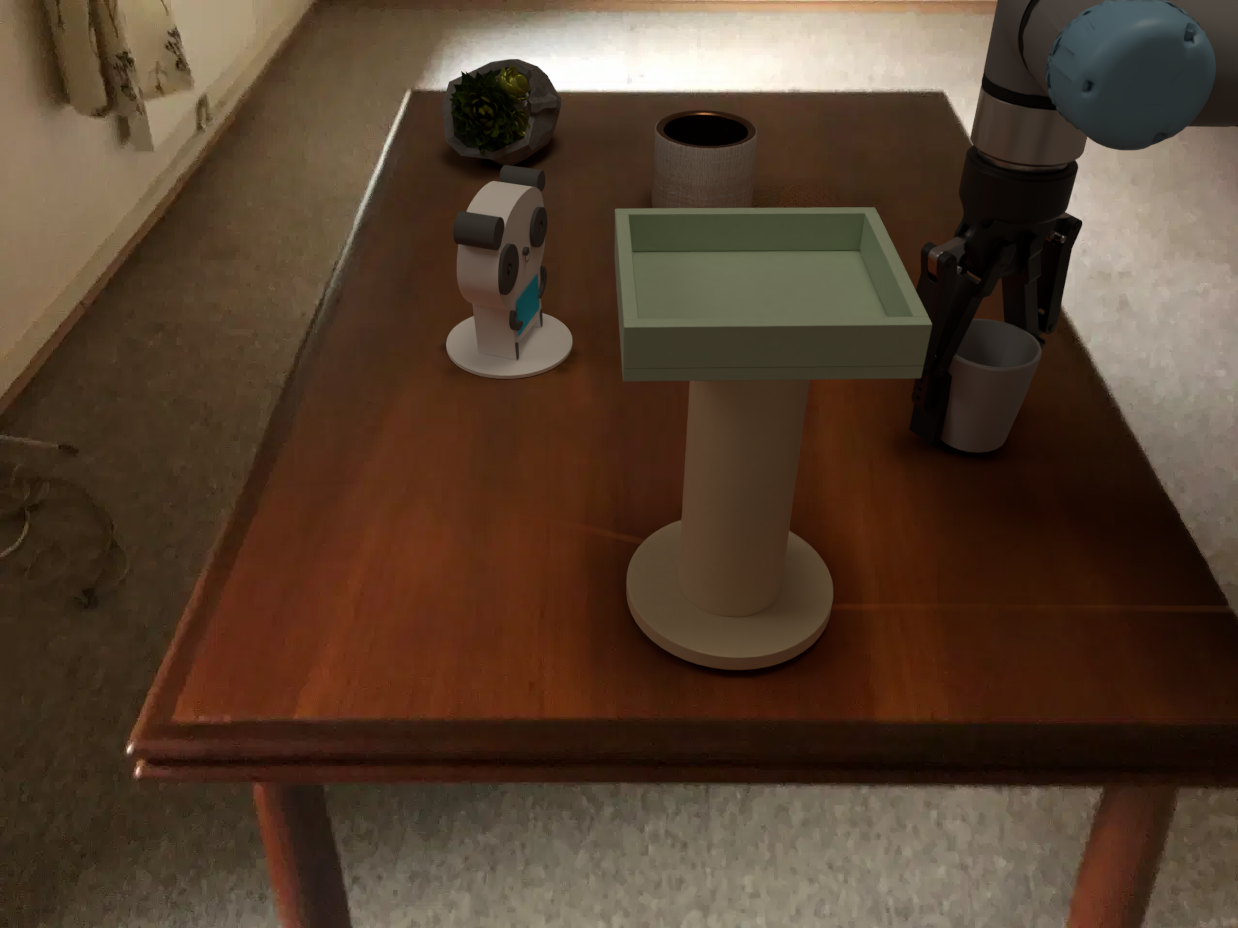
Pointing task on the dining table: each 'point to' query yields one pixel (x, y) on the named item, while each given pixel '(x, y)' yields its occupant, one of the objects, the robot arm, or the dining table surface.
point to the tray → (751, 404)
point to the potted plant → (501, 111)
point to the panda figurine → (505, 282)
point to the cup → (988, 384)
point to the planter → (703, 160)
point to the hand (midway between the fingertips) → (959, 423)
